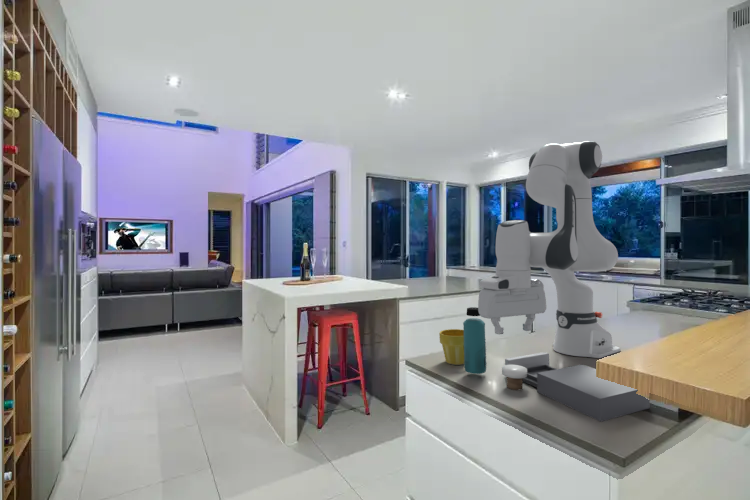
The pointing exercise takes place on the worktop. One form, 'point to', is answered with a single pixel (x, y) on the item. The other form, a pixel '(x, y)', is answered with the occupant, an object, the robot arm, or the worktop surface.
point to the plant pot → (453, 345)
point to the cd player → (590, 392)
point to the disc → (514, 371)
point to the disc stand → (514, 383)
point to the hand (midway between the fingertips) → (513, 332)
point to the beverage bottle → (474, 343)
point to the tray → (532, 365)
